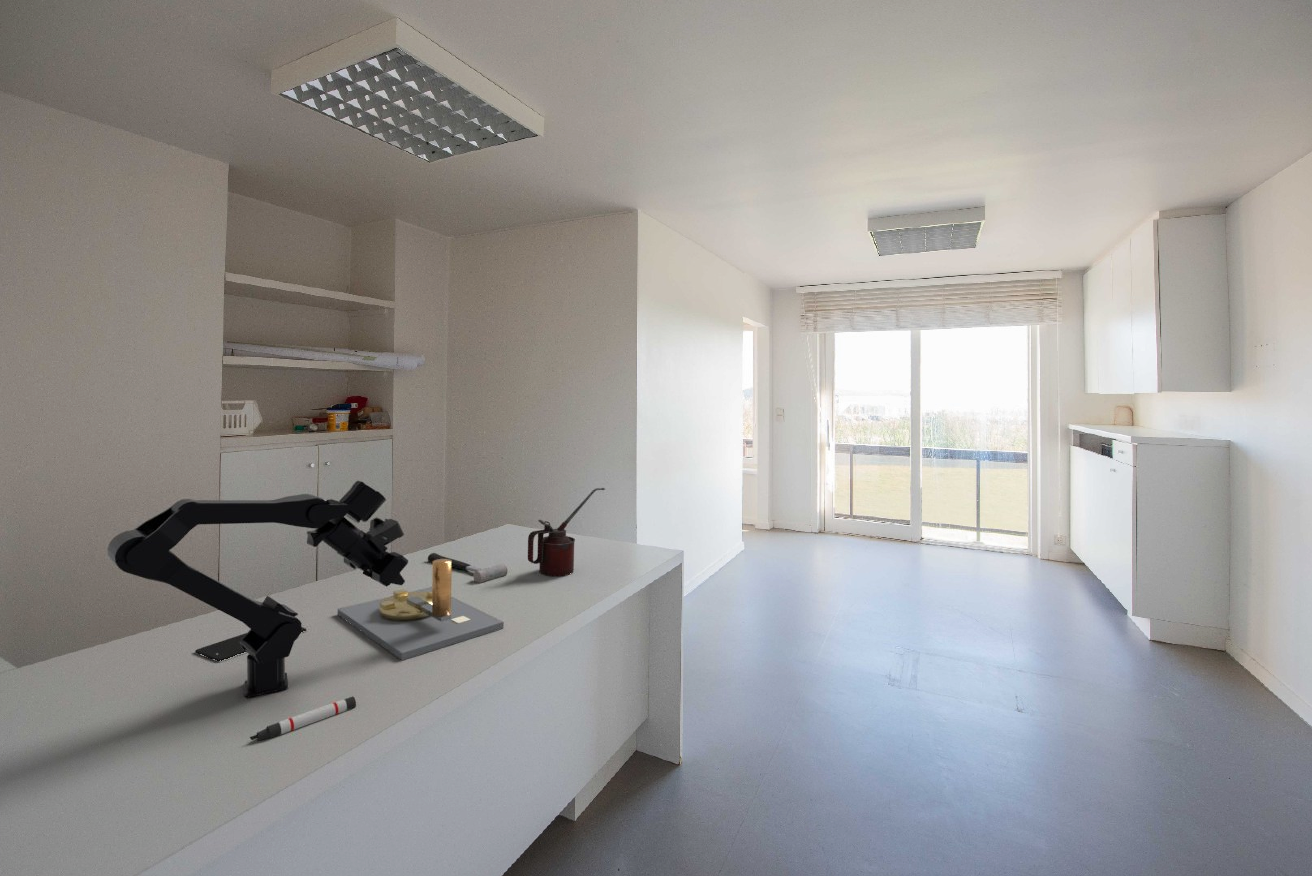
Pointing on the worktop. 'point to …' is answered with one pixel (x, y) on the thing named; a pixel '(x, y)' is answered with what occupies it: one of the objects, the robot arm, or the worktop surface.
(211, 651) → the cell phone
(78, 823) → the worktop surface
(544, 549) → the oil can
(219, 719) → the worktop surface
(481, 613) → the grey rectangular board
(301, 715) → the marker
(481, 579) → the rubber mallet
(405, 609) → the brass wheel crank mechanism
